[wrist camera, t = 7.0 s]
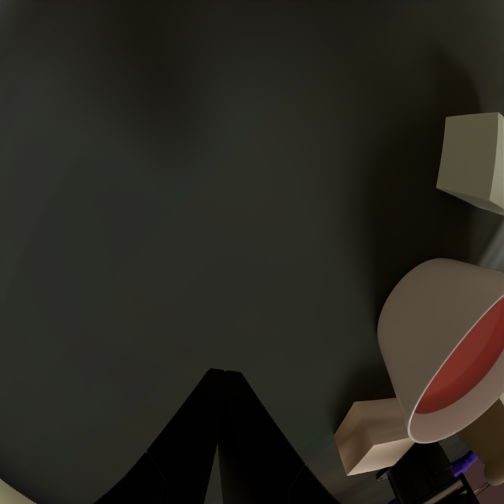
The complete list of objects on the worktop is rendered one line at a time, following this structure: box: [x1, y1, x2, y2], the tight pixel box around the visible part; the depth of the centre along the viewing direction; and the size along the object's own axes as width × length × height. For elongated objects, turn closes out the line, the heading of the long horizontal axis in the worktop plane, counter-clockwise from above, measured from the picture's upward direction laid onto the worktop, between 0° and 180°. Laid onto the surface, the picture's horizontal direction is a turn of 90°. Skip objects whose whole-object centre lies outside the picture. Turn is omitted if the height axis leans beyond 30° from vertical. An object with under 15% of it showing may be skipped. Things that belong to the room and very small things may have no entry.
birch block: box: [334, 398, 415, 475], centre depth 15 cm, size 4×4×4 cm
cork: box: [456, 398, 504, 486], centre depth 13 cm, size 6×6×11 cm
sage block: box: [436, 112, 504, 215], centre depth 9 cm, size 4×4×4 cm
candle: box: [377, 258, 504, 443], centre depth 11 cm, size 9×9×6 cm
